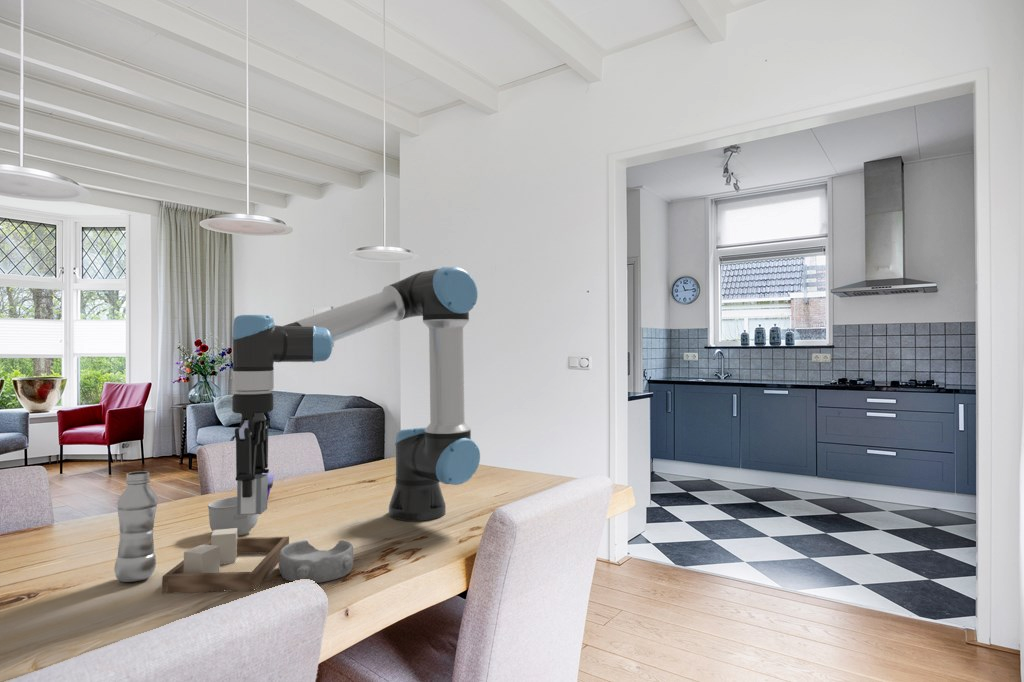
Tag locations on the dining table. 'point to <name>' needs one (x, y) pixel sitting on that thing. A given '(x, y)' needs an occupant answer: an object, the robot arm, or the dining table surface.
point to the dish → (315, 561)
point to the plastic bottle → (136, 529)
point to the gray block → (260, 494)
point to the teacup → (230, 516)
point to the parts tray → (228, 580)
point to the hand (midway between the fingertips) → (252, 509)
